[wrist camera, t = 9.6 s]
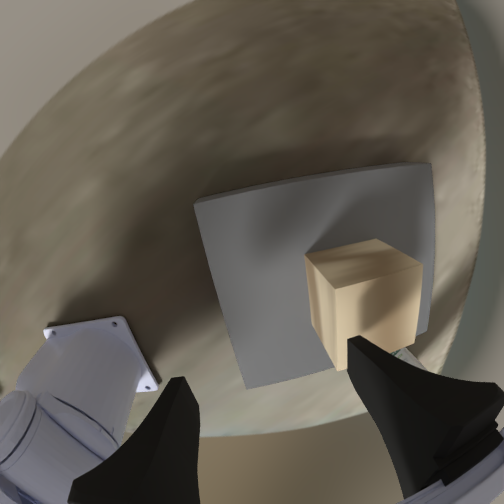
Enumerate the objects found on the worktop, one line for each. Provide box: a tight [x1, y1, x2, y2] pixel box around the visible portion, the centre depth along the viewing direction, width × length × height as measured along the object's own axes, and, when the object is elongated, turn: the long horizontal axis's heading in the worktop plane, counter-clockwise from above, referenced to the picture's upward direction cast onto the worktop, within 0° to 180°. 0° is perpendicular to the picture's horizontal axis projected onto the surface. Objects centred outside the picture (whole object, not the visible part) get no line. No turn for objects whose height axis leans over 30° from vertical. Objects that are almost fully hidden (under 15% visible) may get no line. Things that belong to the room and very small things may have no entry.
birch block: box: [304, 239, 423, 371], centre depth 15 cm, size 5×5×5 cm
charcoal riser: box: [193, 162, 435, 389], centre depth 19 cm, size 16×14×3 cm
